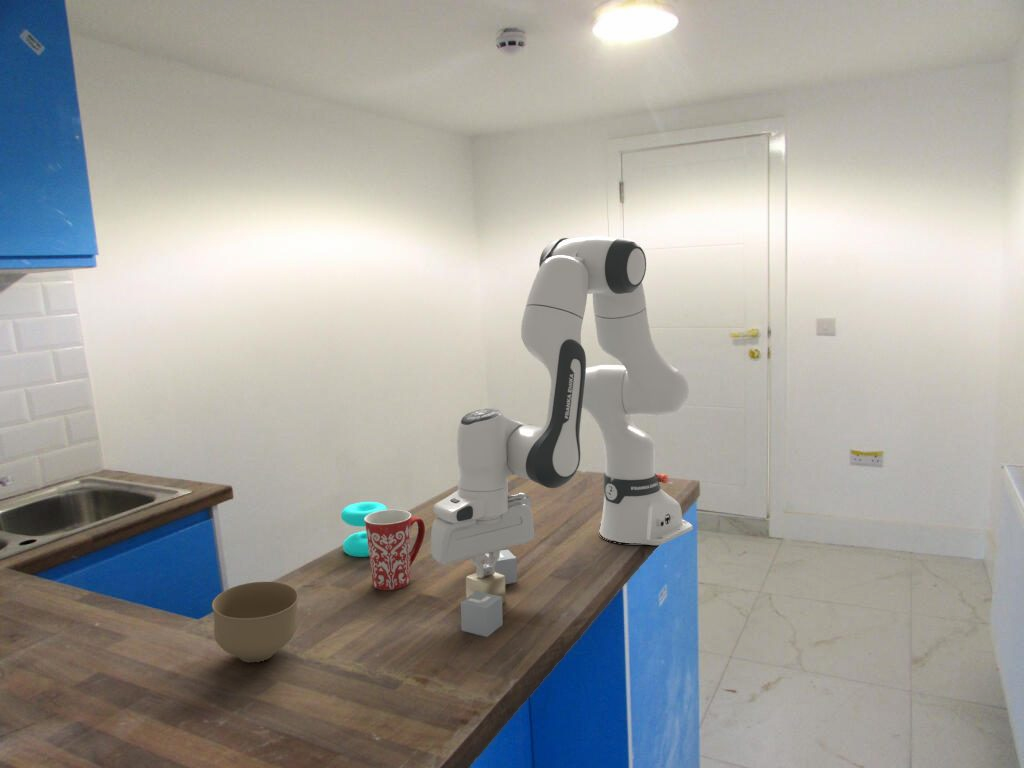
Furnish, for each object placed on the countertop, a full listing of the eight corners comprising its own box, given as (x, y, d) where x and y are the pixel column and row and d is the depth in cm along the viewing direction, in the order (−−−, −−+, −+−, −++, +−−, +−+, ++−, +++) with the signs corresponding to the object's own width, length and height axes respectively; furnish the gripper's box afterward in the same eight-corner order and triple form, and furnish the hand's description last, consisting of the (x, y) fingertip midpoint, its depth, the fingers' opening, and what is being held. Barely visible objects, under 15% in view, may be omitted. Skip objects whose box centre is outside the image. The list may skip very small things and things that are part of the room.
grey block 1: (477, 619, 125) (476, 590, 124) (502, 625, 122) (502, 596, 121) (461, 630, 120) (460, 601, 120) (487, 637, 118) (486, 607, 117)
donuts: (395, 502, 161) (371, 515, 152) (397, 545, 162) (373, 561, 153) (357, 498, 165) (331, 511, 155) (360, 541, 166) (333, 555, 157)
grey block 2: (508, 573, 145) (507, 549, 144) (517, 582, 140) (516, 557, 139) (484, 577, 143) (483, 552, 142) (492, 586, 138) (492, 561, 138)
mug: (382, 596, 134) (379, 526, 133) (359, 583, 141) (355, 516, 140) (438, 578, 143) (436, 512, 141) (413, 566, 149) (410, 502, 148)
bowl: (253, 686, 104) (248, 620, 103) (198, 664, 111) (193, 602, 110) (318, 649, 115) (315, 589, 114) (265, 631, 122) (261, 574, 120)
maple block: (486, 594, 135) (485, 568, 134) (505, 602, 131) (504, 575, 130) (466, 603, 131) (465, 576, 130) (485, 611, 128) (484, 584, 127)
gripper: (520, 487, 137) (521, 557, 139) (424, 507, 126) (427, 583, 127) (540, 494, 132) (541, 567, 134) (443, 516, 120) (445, 595, 122)
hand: (485, 575), depth 130 cm, fingers closed
